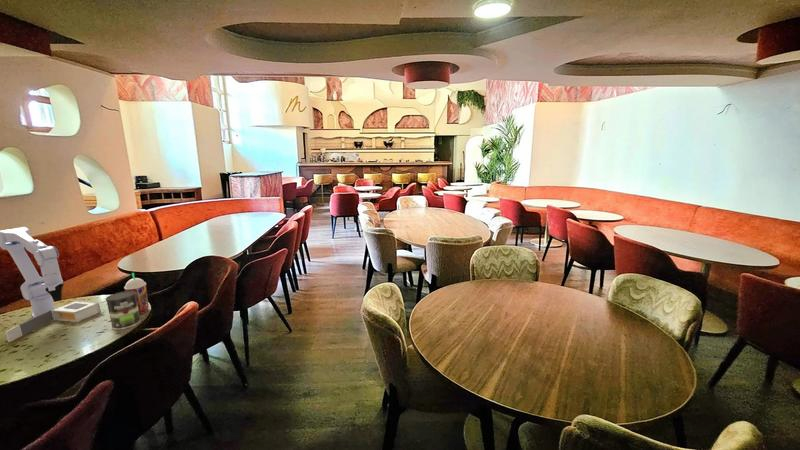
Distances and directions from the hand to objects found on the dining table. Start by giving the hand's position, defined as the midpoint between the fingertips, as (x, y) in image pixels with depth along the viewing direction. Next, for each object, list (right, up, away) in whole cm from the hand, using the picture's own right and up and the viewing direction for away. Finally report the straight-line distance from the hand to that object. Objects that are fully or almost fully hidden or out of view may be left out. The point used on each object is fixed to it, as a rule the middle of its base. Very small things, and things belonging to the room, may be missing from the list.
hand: (58, 300), depth 154 cm
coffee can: (+35, -10, -4) cm, 37 cm away
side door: (-3, -11, -8) cm, 14 cm away
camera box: (+5, -8, +5) cm, 11 cm away
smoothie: (+32, -7, +8) cm, 34 cm away
